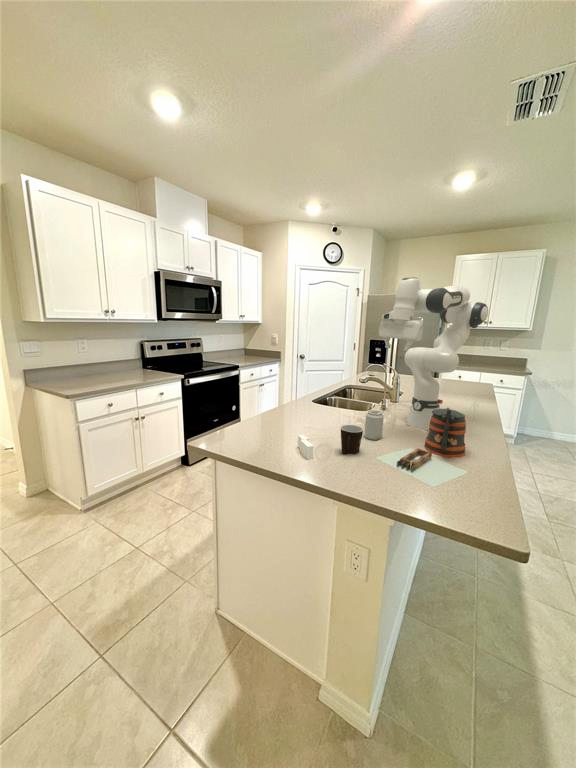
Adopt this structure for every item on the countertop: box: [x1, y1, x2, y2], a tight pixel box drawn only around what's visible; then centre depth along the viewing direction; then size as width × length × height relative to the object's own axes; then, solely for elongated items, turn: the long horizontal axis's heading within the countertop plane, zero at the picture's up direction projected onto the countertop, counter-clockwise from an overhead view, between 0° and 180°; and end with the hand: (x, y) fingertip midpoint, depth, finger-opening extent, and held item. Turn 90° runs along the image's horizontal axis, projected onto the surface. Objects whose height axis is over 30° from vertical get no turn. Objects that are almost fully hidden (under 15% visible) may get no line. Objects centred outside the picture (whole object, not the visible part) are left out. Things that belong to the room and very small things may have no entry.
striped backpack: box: [424, 407, 467, 459], centre depth 119 cm, size 19×15×20 cm
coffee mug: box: [339, 424, 364, 456], centre depth 117 cm, size 12×9×10 cm
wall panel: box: [375, 447, 470, 488], centre depth 109 cm, size 20×24×1 cm
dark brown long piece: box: [397, 448, 433, 473], centre depth 110 cm, size 16×5×2 cm, turn 133°
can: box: [363, 409, 385, 441], centre depth 135 cm, size 8×8×12 cm
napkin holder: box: [297, 434, 314, 460], centre depth 119 cm, size 15×11×6 cm
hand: (396, 349), depth 132 cm, fingers open, 8 cm apart
